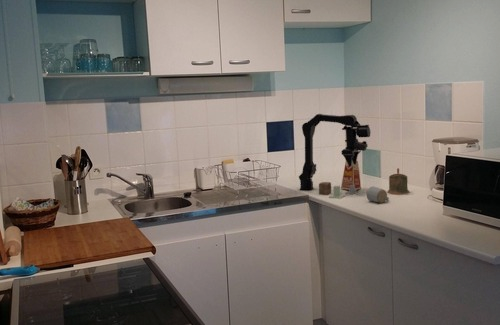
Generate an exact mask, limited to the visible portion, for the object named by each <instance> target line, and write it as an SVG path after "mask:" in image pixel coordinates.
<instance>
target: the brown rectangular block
mask: <svg viewBox="0 0 500 325" xmlns="http://www.w3.org/2000/svg"><path fill="white" fill-rule="evenodd" d="M330 194H332V182H329V181H322V182H319V183H318V195H322V196H323V195H325V196H326V195H327V196H329V195H330Z"/></svg>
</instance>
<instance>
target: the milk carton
mask: <svg viewBox="0 0 500 325" xmlns="http://www.w3.org/2000/svg"><path fill="white" fill-rule="evenodd" d="M360 173H361V171H360V167H359V160H357V161H356V164H354V163H353V161H352V166H351V167H350V166H349V165H348V163H347V161H346V160H345V164H344V170H343V175H342V179H341V180H342V181H341V185H340V190H348V191H349V186H351V185H352V186H355V191H357V190H359V189H361V188H362V185H361V184H362V183H361V174H360Z"/></svg>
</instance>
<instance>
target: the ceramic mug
mask: <svg viewBox="0 0 500 325" xmlns="http://www.w3.org/2000/svg"><path fill="white" fill-rule="evenodd" d="M366 198H367V200H368V201H370V202H374V203H377V204H383V203H384V202H385V201H389V200H390V197H388V191H386V190H385V189H383V188H381V187H380V188H379V187H377V186H375V185H373V186H369V188H368V189H367V191H366Z"/></svg>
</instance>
